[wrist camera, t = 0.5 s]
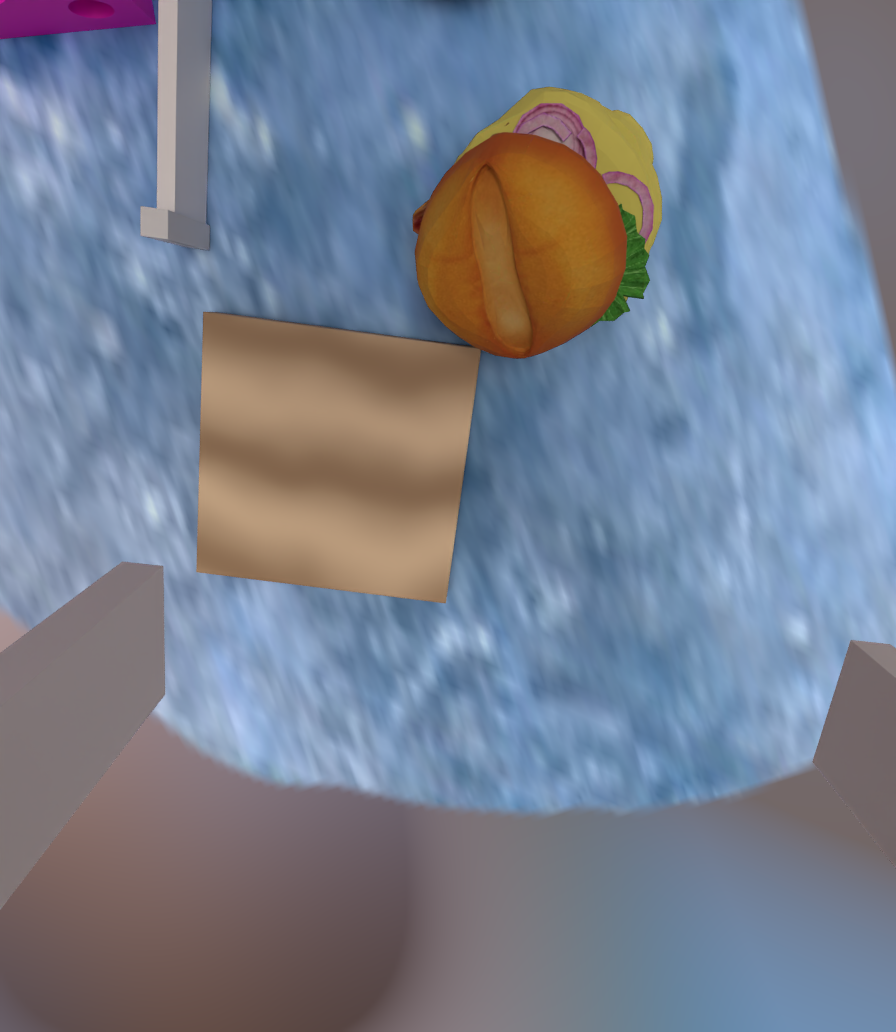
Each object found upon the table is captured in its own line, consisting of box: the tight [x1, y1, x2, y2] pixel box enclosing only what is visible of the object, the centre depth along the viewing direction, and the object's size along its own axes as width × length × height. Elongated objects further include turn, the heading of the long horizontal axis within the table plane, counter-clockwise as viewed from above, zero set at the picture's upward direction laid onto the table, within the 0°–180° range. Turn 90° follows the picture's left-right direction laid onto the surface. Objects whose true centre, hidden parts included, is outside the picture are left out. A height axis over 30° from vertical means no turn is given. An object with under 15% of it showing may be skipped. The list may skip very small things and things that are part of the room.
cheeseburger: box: [413, 87, 662, 359], centre depth 30 cm, size 10×11×10 cm
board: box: [197, 312, 481, 603], centre depth 37 cm, size 14×14×2 cm
